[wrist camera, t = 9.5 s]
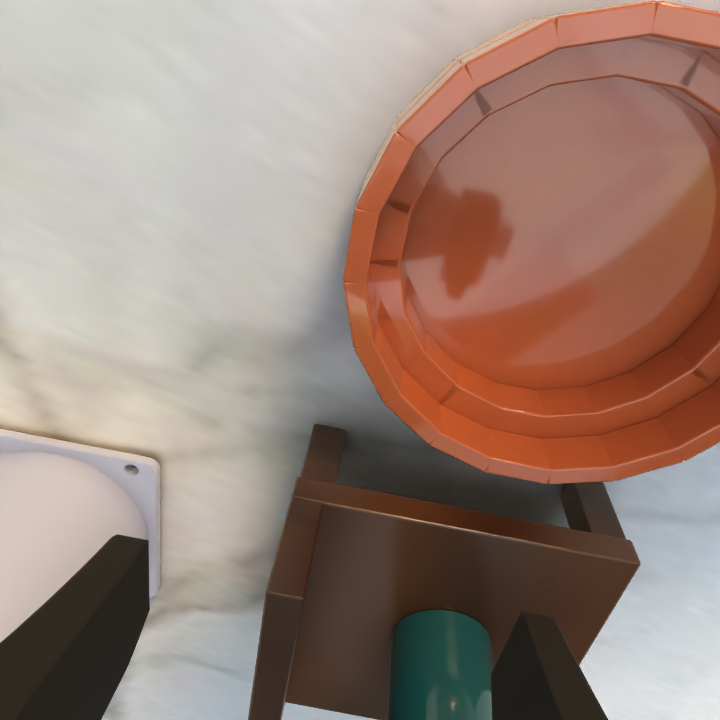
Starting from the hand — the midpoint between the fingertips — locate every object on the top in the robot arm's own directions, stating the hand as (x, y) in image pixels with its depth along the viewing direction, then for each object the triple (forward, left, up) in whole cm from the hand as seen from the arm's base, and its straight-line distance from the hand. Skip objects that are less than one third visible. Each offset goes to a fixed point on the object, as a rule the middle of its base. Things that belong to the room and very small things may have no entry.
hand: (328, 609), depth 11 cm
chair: (+4, -9, -10) cm, 14 cm away
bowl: (+5, +5, -10) cm, 12 cm away
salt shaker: (+5, -9, -6) cm, 11 cm away
